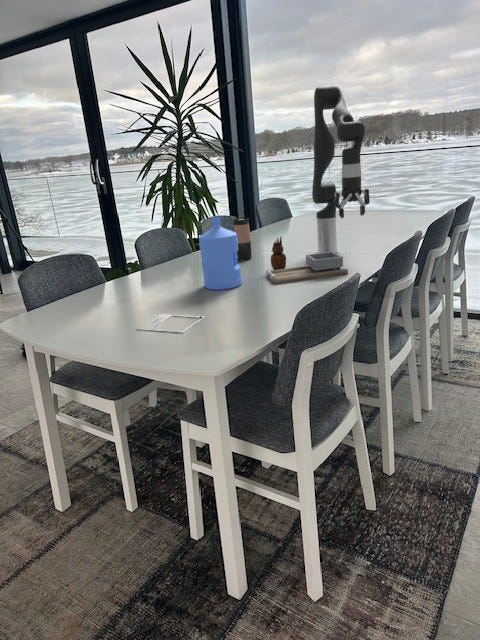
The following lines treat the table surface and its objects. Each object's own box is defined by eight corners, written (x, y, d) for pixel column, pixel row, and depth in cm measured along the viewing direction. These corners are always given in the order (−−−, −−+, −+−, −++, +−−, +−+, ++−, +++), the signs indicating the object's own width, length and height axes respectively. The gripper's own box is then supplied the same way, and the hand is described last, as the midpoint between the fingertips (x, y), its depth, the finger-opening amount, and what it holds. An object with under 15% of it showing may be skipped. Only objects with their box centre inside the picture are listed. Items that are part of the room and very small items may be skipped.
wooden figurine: (288, 268, 224) (286, 235, 219) (284, 271, 219) (282, 237, 214) (273, 268, 226) (271, 235, 221) (270, 271, 221) (267, 238, 216)
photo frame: (160, 313, 176) (205, 316, 169) (160, 316, 177) (205, 319, 169) (136, 327, 164) (183, 331, 157) (136, 331, 164) (183, 334, 157)
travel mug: (254, 257, 253) (251, 217, 246) (248, 260, 246) (244, 219, 240) (241, 257, 256) (237, 217, 250) (234, 260, 250) (230, 220, 243)
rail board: (266, 276, 214) (266, 269, 213) (335, 267, 218) (335, 260, 217) (274, 284, 201) (273, 277, 200) (347, 274, 205) (347, 267, 204)
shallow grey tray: (306, 268, 215) (305, 254, 213) (333, 265, 217) (332, 251, 215) (315, 274, 204) (314, 260, 202) (343, 271, 205) (342, 256, 203)
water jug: (214, 293, 197) (205, 221, 188) (198, 285, 211) (190, 218, 201) (248, 285, 204) (242, 215, 194) (231, 278, 217) (225, 213, 208)
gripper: (364, 173, 203) (364, 213, 209) (331, 176, 201) (332, 217, 207) (372, 174, 196) (372, 215, 202) (337, 178, 194) (338, 219, 200)
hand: (351, 216), depth 205 cm, fingers open, 8 cm apart
